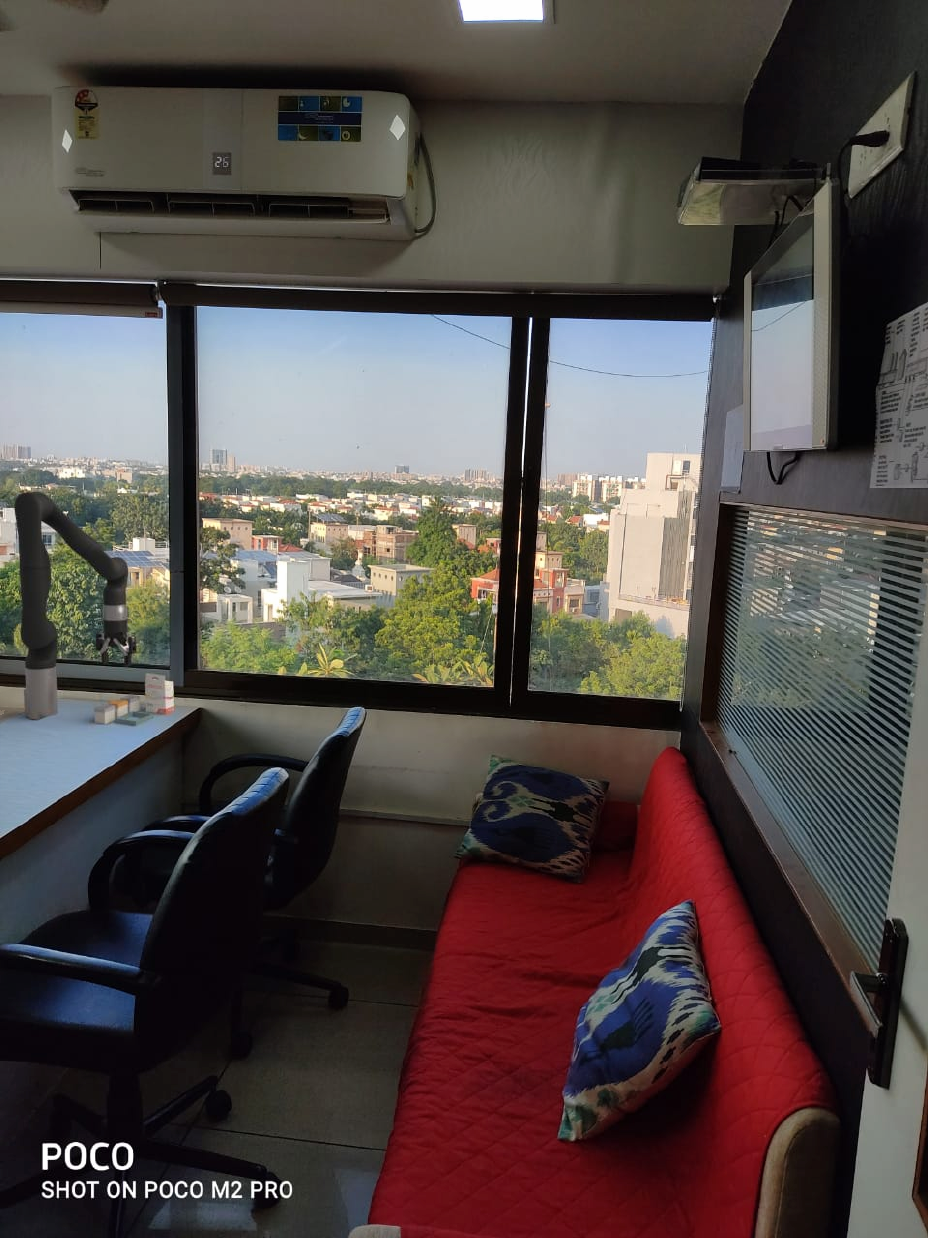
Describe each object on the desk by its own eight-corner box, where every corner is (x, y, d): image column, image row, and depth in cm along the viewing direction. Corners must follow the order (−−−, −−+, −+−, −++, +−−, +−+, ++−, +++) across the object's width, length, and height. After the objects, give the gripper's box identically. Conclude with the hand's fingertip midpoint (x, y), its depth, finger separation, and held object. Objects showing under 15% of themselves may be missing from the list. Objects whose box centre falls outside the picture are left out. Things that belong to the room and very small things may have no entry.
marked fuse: (107, 717, 282) (107, 702, 281) (117, 713, 287) (117, 699, 286) (118, 718, 281) (117, 704, 280) (127, 714, 286) (127, 700, 285)
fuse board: (89, 725, 276) (89, 707, 275) (127, 710, 294) (126, 693, 293) (108, 727, 274) (107, 710, 273) (144, 712, 292) (144, 696, 291)
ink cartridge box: (174, 713, 293) (174, 673, 290) (165, 717, 288) (165, 676, 285) (154, 710, 295) (153, 670, 293) (144, 714, 290) (144, 673, 288)
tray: (114, 725, 277) (114, 718, 276) (132, 718, 285) (132, 711, 285) (136, 728, 275) (136, 721, 274) (153, 721, 283) (153, 714, 283)
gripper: (89, 617, 276) (91, 665, 279) (126, 621, 272) (127, 669, 275) (104, 614, 283) (106, 660, 286) (140, 617, 280) (141, 664, 282)
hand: (116, 664), depth 281 cm, fingers open, 8 cm apart
